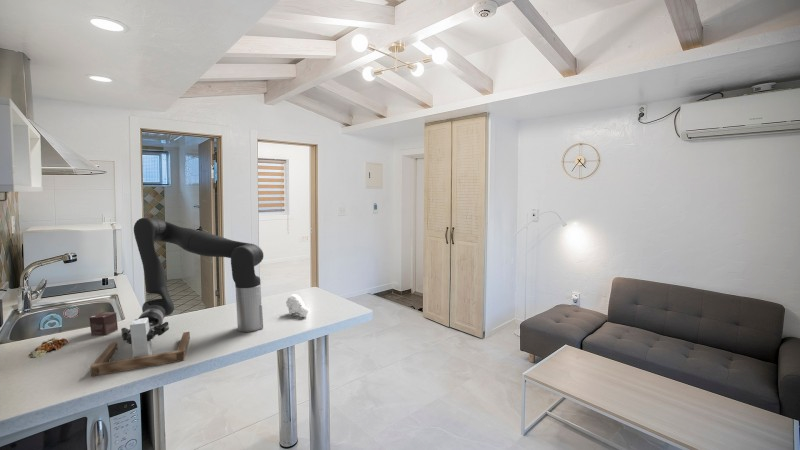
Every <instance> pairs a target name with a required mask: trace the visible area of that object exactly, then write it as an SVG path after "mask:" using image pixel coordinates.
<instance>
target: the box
mask: <svg viewBox="0 0 800 450" xmlns="http://www.w3.org/2000/svg"><path fill="white" fill-rule="evenodd" d="M89 326H90V333H91V334H90V335H91V336H107V335H110V334H112V333H114V332H116V331H118V330H119V327H118V316H117V312H115V311H114V312H113V311H111V312H109V311H107V312H106V311H105V312H104V311H101V312H99V313H96V314H94V315H92V316H90V317H89Z"/></svg>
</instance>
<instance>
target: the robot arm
mask: <svg viewBox="0 0 800 450" xmlns="http://www.w3.org/2000/svg"><path fill="white" fill-rule="evenodd" d="M133 234H134V238H135V242H136V245H137V249H138V253H139V256H140V259H141V263H142V266H143V267H142V268H143V275H144V283H145V284H144V285H145V292H146V293H147V294H150V295H153V294H155V295H159V296H160V297H161V298H158V299H150V300H147V301H145V302H144V303H143V304H142V308H141V309H142V310H141V311H142V313H141V314H140V316H139V317H138V318H137V319H141V318H148V320H149V328H150V331H149V332H148V334H147V341H150V340H151V341H152V340H153V339H154V338H155V337H156V336H158V337H159V336H162V335H163V334H165V333H166V332H168V331H169V329H170V327H169V322H168V321H166V322H164V320H165V319H164V318H165V317H166V316H170V315H172V314H173V312H174V310H175V304H174V302H173V300H172V298H171V295H170V294H169V290H168V286H167V285H168V284H167V277H166V271H165V268H164V265H163V263H162V261H161V260H160V258H159V256H158V254H157V252H156V248H155V242H164V243H170V244H174V245H177V246H178V247H180V248H181V249H183V250H185V251H186V252H189V253H192V254H195V255H199V256H203V257H213V258H214V257H215V258H216V257H217V258H228V259H230V268H231V276H232V279H233V282H234V286H235V302H236V303H235V304H236V306H235V307H236V321H237V323H236V324H237V331H239V332H242V333H248V332H249V333H251V332H254V331H258V330H261V329H264V316H263V315H264V314H263V303H262V287H261V285H262V284H261V282H262V281H261V277H260V276H258V275H256V271H255V267H256V266H257V265H259V264H260V263H262V261H263V259H264V252H263V250H262V248H261V247H259V246H258V245H257V244H255V243H249V242H244V241H243V242H242V241H237V240H233V239H229V238H226V237H223V236H220V235H217V234H213V233H209V232H206V231H202V230H199V229H195V228H190V227H189V228H188V227H183V226H179V225H177V224H173V223H171V222H168V221H167V220H163V219H160V218H155V217H154V218H153V217H142V218H139V219H138V220H136V221H135V222H134V226H133ZM120 330H121V337H122V339H123V341H126V343H128V344H129V345H132V340H131V331H130V328H129V329H128V328H127V327H121V329H120Z"/></svg>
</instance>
